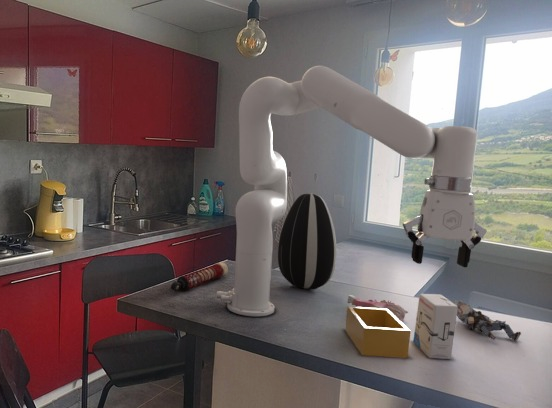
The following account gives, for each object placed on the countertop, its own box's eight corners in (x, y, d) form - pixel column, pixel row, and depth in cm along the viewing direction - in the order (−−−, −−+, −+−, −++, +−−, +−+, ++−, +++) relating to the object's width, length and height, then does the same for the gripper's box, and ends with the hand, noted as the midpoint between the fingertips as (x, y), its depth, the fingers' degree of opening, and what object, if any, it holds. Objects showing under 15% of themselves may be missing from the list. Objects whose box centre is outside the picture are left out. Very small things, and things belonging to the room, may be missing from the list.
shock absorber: (181, 285, 127) (235, 264, 152) (169, 275, 129) (224, 257, 154) (175, 298, 129) (229, 276, 154) (164, 289, 131) (219, 269, 156)
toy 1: (340, 313, 122) (396, 337, 113) (344, 294, 120) (401, 316, 111) (353, 302, 128) (407, 323, 119) (356, 283, 126) (412, 304, 117)
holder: (361, 355, 96) (364, 327, 95) (345, 330, 109) (347, 306, 108) (407, 358, 95) (410, 330, 95) (385, 332, 109) (387, 308, 108)
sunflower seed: (337, 290, 143) (345, 195, 139) (327, 297, 134) (336, 197, 131) (282, 278, 152) (288, 190, 149) (269, 285, 144) (276, 191, 141)
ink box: (412, 341, 104) (417, 292, 103) (434, 343, 104) (439, 293, 103) (428, 358, 96) (435, 304, 94) (452, 360, 96) (459, 306, 94)
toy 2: (486, 337, 104) (437, 306, 118) (508, 358, 109) (459, 326, 123) (505, 314, 104) (454, 286, 118) (527, 336, 109) (476, 306, 122)
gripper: (416, 183, 92) (405, 265, 95) (502, 190, 92) (489, 271, 94) (402, 181, 100) (392, 256, 102) (481, 187, 100) (470, 262, 102)
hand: (439, 264), depth 98 cm, fingers open, 9 cm apart
